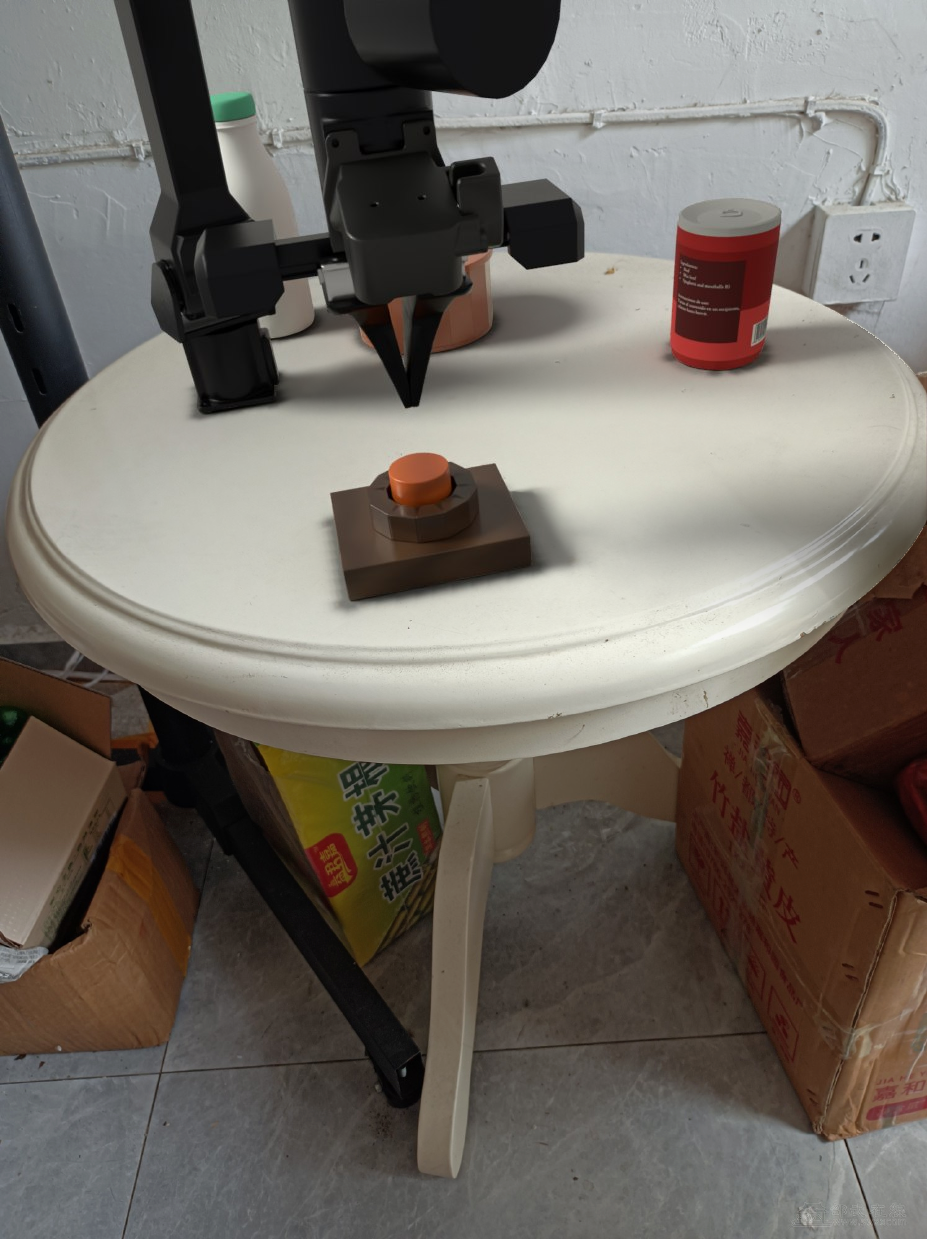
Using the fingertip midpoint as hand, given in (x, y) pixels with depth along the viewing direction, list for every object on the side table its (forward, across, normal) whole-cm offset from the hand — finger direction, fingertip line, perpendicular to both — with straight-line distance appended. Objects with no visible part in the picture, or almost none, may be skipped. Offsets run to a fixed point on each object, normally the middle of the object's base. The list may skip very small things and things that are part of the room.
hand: (410, 405), depth 48 cm
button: (+6, 0, 0) cm, 6 cm away
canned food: (+9, +28, +20) cm, 35 cm away
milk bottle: (+9, -8, +43) cm, 45 cm away
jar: (+9, +6, +36) cm, 37 cm away
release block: (+9, 0, 0) cm, 9 cm away
